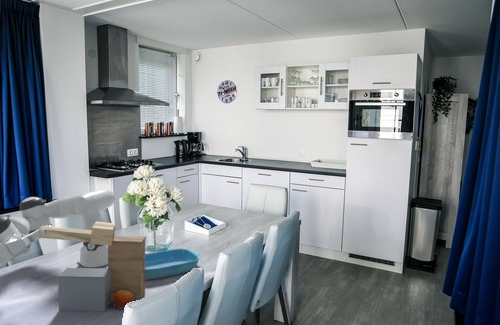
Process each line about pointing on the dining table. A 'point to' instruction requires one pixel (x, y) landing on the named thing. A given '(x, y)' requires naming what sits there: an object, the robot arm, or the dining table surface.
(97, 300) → the storage box
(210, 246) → the dining table surface
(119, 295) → the fruit
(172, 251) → the casserole dish
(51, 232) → the mallet
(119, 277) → the shelf block
